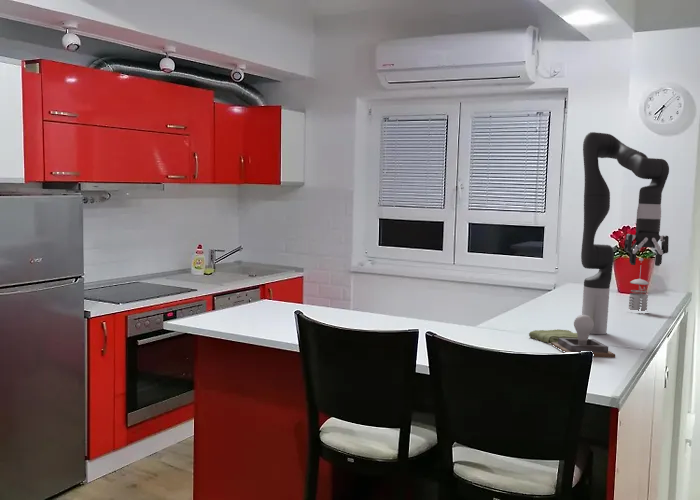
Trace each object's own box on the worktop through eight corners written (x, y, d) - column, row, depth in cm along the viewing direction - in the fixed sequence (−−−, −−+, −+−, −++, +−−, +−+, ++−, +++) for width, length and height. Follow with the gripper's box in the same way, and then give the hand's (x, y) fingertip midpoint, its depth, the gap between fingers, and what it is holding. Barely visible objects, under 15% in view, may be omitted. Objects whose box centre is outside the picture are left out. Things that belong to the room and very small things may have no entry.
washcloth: (591, 343, 241) (591, 334, 241) (549, 345, 235) (549, 336, 235) (566, 336, 254) (567, 327, 253) (526, 338, 247) (526, 329, 247)
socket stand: (551, 345, 234) (551, 336, 234) (594, 346, 235) (595, 337, 234) (568, 356, 218) (569, 346, 218) (615, 357, 219) (615, 348, 218)
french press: (645, 311, 322) (649, 257, 320) (653, 315, 310) (657, 259, 308) (623, 309, 323) (627, 256, 321) (630, 313, 311) (634, 258, 309)
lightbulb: (571, 348, 224) (574, 315, 224) (572, 345, 230) (574, 312, 229) (591, 351, 222) (594, 317, 221) (592, 347, 228) (594, 314, 227)
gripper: (663, 218, 238) (659, 264, 240) (623, 216, 238) (619, 263, 239) (674, 218, 231) (671, 267, 232) (633, 217, 230) (629, 265, 231)
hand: (645, 265), depth 236 cm, fingers open, 8 cm apart
